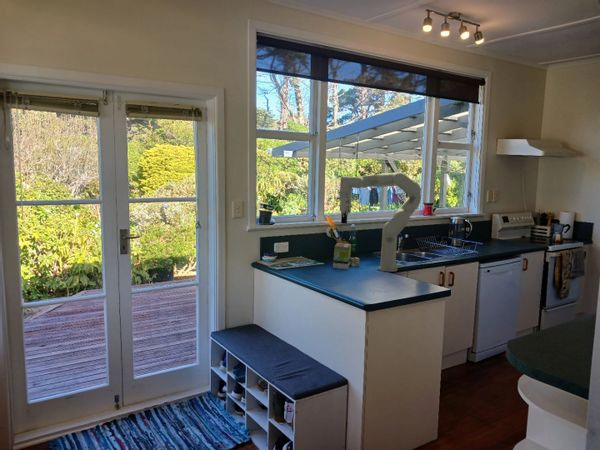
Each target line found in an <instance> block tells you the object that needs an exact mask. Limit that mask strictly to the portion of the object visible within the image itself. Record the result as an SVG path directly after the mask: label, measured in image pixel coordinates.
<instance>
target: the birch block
mask: <svg viewBox="0 0 600 450" xmlns="http://www.w3.org/2000/svg"><path fill="white" fill-rule="evenodd" d="M349 266H350V267H351V266H352V267H360V258H359V257H354V256H353V257H350V265H349Z"/></svg>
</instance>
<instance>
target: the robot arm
mask: <svg viewBox="0 0 600 450" xmlns="http://www.w3.org/2000/svg"><path fill="white" fill-rule="evenodd" d="M370 187H371V188H372V187H375V188H384V187H397V188H399V189H400V190H401V191H403V192H404V193H406V194H407V198H406V200H405V201H404V202H403V203H402V205H401V206H400V207H398V209H397V210H396V211H395V212H394V214H393V216H392V218H391V219H390V220H389V221H387V222H385V223H384V225H383V227H382V231H381V233H382V235H381V250H380V251H381V252H380V253H381V254H380V264H379V265H380V266H377V269H378V271H381V272H387V273H389V272H390V273H391V272H397V271H398V268H402V267H403V264H399V263H396V260H397V257H396V256H397V245H398V235H399V234H400V233H401V232H402V231H403V229H404V228H405V227H406V226H407V225H408V224H409V223H410V220H411V216H412V215H413V214H414V212H415V211H416V210H417V209H418V207H419V206H420V203H421V199H422V187H421V186H420V185H419V184H418V183H416V181H414V180H412V179H411V178H410V177H409V176H407V175H406V174H405V173H403V172H402V171H401V172H400V171H398V172H385V173H377V174H371V175H361V176H360V175H359V176H357V175H356V176H345V175H344V176H341V177H340V183H339V198H340V200H339V201H340V202H339V212H340V213H341V215H340V216H341V217H340V218H341V219H340V223H341V224H345V225H346V224H347V223H348V215H349V214H351V212H352V200H351V199H352V192H353V190H352V189H360V188H370Z"/></svg>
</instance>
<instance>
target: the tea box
mask: <svg viewBox="0 0 600 450" xmlns="http://www.w3.org/2000/svg"><path fill="white" fill-rule="evenodd" d="M351 252H352V244H351V243H344V242H341V243H340V242H337V243H336V244H335V245H334V249H333V260H332V261H333V262H332V263H333V264H332V268H333V269H341V270H348V269H349V267H350V266H351V265H350V258H351Z"/></svg>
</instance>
